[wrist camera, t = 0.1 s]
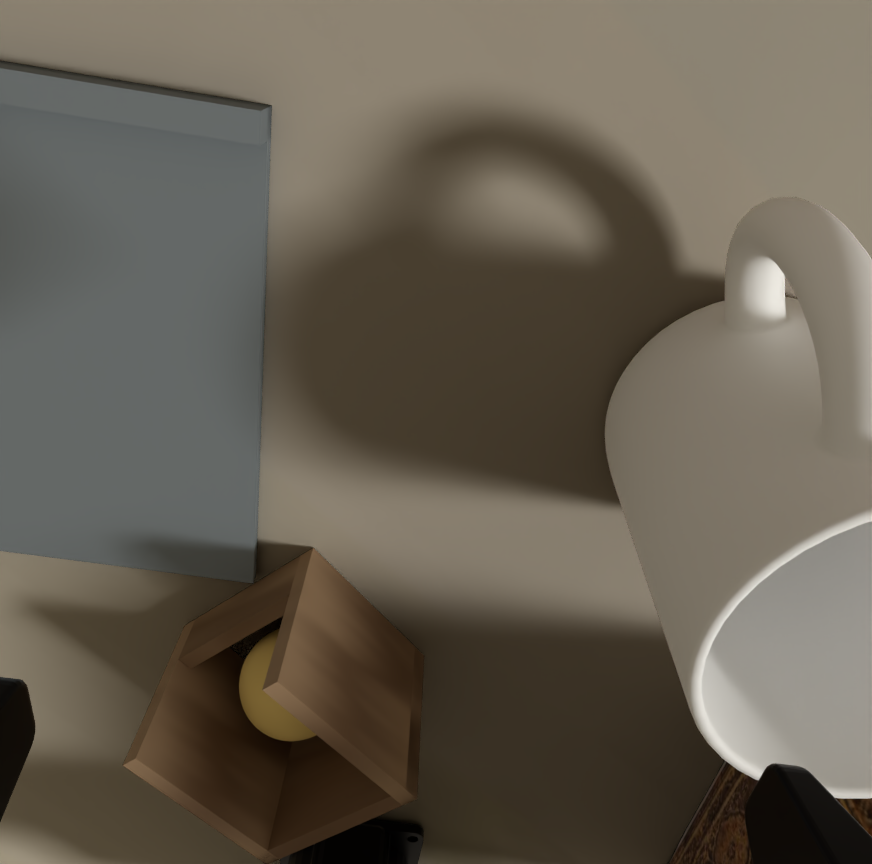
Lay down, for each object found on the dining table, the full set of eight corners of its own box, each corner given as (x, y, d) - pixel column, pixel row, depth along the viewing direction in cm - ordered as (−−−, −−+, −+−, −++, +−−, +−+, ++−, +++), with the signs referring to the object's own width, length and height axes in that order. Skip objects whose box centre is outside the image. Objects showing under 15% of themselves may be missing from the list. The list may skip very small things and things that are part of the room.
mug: (563, 192, 20) (654, 342, 11) (887, 117, 19) (1291, 212, 10) (614, 537, 25) (700, 821, 16) (863, 495, 24) (1100, 775, 15)
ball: (351, 682, 29) (338, 771, 26) (252, 670, 29) (225, 758, 26) (361, 609, 27) (348, 696, 24) (255, 595, 27) (225, 681, 24)
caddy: (424, 655, 28) (416, 798, 23) (298, 719, 31) (266, 864, 25) (313, 547, 26) (277, 681, 21) (184, 625, 28) (122, 765, 23)
